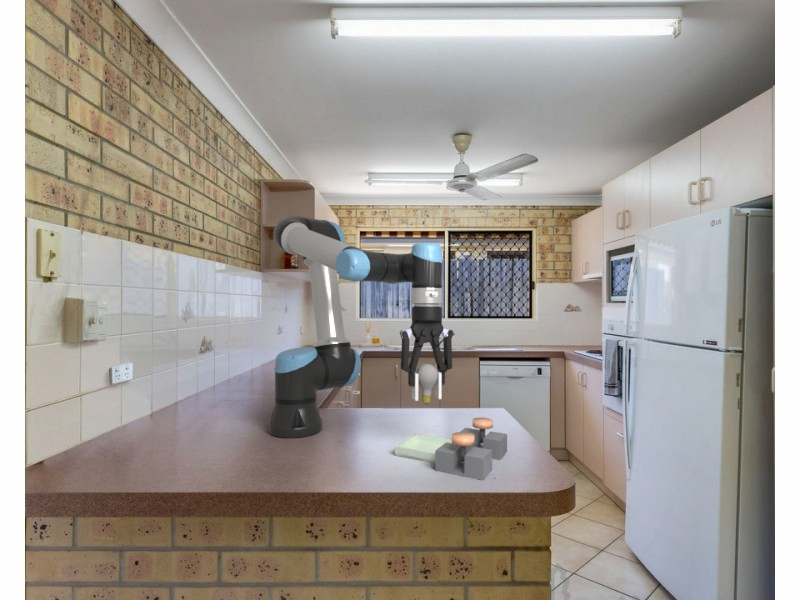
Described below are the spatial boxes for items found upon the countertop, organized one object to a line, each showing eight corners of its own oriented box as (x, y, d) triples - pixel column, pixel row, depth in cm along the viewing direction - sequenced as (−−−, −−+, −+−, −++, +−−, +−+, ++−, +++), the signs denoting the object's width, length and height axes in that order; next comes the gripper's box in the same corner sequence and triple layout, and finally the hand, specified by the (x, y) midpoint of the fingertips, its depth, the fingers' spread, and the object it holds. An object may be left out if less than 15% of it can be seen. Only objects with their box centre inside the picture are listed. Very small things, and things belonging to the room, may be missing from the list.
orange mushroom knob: (469, 443, 109) (469, 421, 109) (476, 437, 114) (476, 416, 114) (489, 446, 107) (489, 424, 107) (495, 440, 111) (495, 419, 111)
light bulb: (440, 406, 108) (441, 365, 108) (419, 407, 106) (420, 365, 106) (432, 401, 113) (433, 362, 113) (412, 402, 111) (413, 362, 111)
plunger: (448, 462, 97) (448, 437, 97) (456, 455, 101) (456, 431, 101) (470, 466, 94) (470, 440, 94) (477, 458, 99) (477, 434, 99)
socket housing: (435, 470, 98) (435, 450, 98) (465, 444, 115) (465, 427, 115) (483, 480, 93) (483, 458, 93) (507, 451, 110) (507, 433, 110)
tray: (394, 455, 107) (394, 446, 107) (415, 441, 118) (415, 433, 118) (438, 463, 102) (438, 454, 102) (456, 449, 112) (456, 440, 112)
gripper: (395, 305, 103) (395, 404, 103) (467, 305, 109) (466, 399, 109) (387, 305, 111) (386, 397, 111) (454, 305, 116) (454, 393, 116)
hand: (426, 398), depth 110 cm, fingers closed on light bulb, 5 cm apart
